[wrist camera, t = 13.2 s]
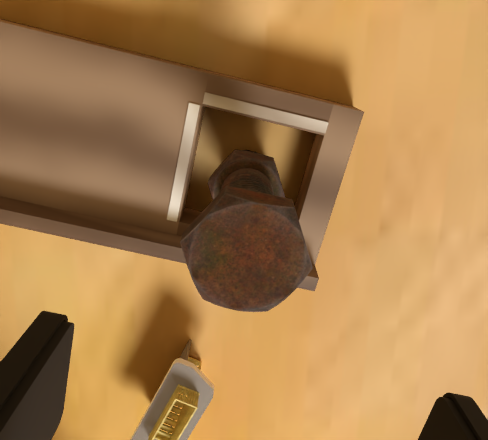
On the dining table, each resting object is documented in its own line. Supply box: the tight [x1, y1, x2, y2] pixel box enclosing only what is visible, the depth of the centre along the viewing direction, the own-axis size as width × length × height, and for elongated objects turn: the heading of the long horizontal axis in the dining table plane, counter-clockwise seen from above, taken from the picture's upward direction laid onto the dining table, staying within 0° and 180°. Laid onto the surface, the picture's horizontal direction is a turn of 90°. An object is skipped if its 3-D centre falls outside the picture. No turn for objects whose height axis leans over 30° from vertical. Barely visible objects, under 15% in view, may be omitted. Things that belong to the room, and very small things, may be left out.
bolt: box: [180, 150, 313, 312], centre depth 26 cm, size 6×5×15 cm
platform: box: [130, 340, 214, 440], centre depth 37 cm, size 12×18×7 cm, turn 153°
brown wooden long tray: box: [0, 19, 364, 291], centre depth 30 cm, size 12×30×5 cm, turn 77°
